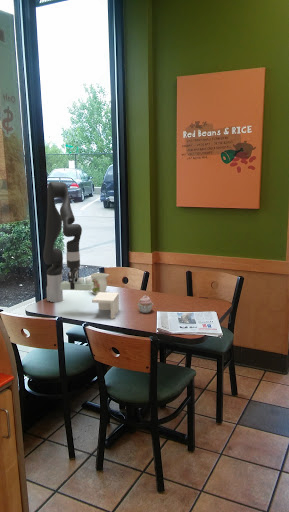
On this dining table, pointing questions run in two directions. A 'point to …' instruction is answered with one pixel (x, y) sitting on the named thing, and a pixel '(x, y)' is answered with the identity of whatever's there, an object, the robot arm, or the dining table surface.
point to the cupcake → (145, 304)
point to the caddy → (79, 284)
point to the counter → (107, 302)
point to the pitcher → (99, 282)
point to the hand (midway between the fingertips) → (74, 287)
